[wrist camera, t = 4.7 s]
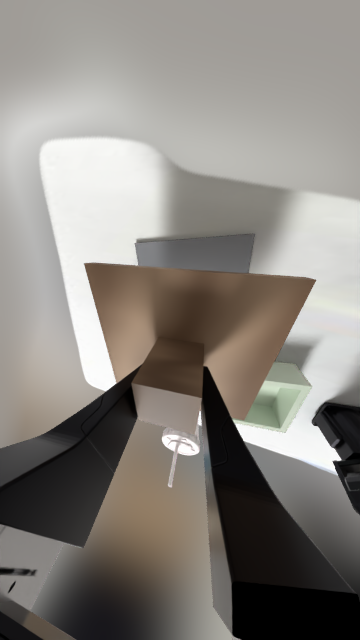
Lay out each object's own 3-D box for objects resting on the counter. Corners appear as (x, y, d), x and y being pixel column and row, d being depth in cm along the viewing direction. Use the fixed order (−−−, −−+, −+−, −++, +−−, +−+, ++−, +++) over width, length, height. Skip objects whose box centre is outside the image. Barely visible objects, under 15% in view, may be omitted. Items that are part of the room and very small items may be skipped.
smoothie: (170, 383, 30) (142, 472, 18) (196, 379, 28) (185, 479, 15) (182, 401, 32) (164, 492, 20) (207, 399, 30) (204, 501, 17)
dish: (293, 362, 22) (312, 386, 18) (274, 406, 27) (285, 433, 23) (218, 354, 24) (219, 374, 20) (214, 396, 29) (214, 418, 25)
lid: (305, 277, 7) (446, 312, 3) (242, 411, 13) (257, 486, 9) (93, 262, 9) (-7, 270, 5) (123, 385, 15) (90, 436, 11)
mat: (253, 234, 15) (254, 233, 15) (235, 341, 22) (236, 342, 21) (136, 243, 18) (134, 243, 18) (151, 334, 25) (150, 335, 24)
